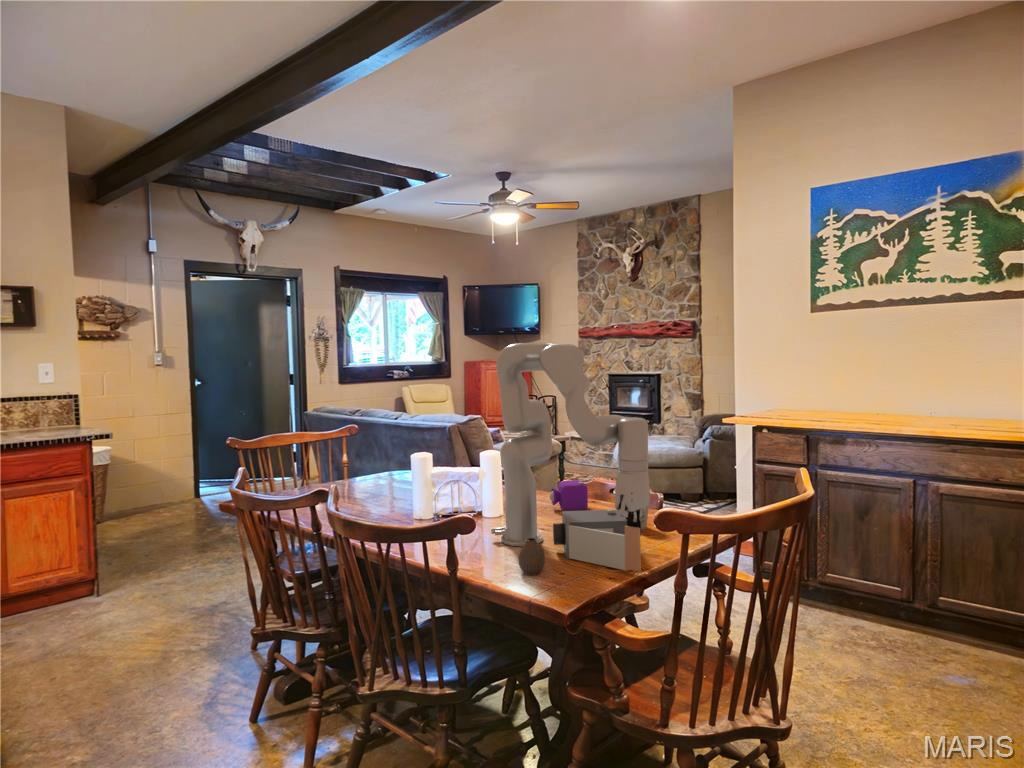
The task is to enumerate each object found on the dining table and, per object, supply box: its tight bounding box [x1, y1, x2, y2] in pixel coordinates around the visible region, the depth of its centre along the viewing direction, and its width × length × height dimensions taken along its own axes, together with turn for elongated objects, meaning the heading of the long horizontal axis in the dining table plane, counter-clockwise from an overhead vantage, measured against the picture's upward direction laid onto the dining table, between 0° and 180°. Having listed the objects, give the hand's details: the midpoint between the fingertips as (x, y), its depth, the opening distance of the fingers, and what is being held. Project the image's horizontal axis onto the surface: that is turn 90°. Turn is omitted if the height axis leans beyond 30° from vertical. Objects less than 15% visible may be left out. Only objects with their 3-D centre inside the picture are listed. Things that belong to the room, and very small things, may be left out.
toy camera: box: [549, 480, 589, 511], centre depth 221 cm, size 11×14×10 cm
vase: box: [518, 538, 546, 576], centre depth 158 cm, size 7×7×9 cm
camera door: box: [565, 523, 642, 572], centre depth 161 cm, size 22×1×12 cm, turn 53°
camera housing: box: [552, 508, 627, 559], centre depth 174 cm, size 21×12×11 cm, turn 90°
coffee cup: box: [640, 504, 650, 530], centre depth 195 cm, size 7×7×10 cm
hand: (633, 535), depth 158 cm, fingers closed
